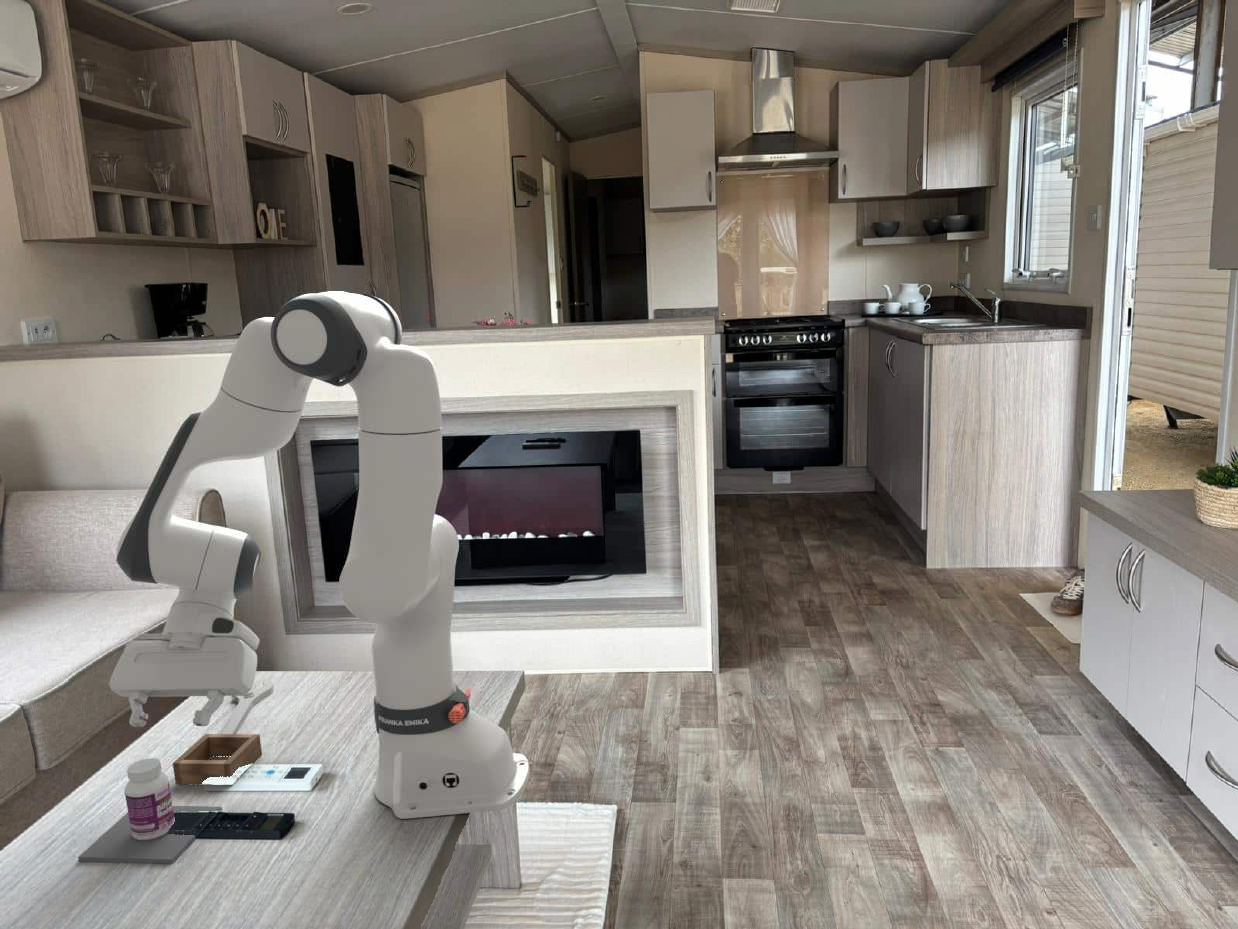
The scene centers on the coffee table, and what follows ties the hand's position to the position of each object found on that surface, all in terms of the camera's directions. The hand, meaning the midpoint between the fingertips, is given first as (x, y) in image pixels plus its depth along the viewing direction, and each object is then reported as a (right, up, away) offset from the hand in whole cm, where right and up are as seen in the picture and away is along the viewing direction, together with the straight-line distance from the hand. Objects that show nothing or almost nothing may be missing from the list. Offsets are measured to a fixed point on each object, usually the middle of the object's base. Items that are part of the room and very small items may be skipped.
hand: (168, 725), depth 127 cm
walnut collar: (+1, -11, +13) cm, 17 cm away
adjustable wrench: (-3, -8, +31) cm, 32 cm away
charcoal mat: (0, -14, -3) cm, 14 cm away
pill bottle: (0, -13, -3) cm, 14 cm away
